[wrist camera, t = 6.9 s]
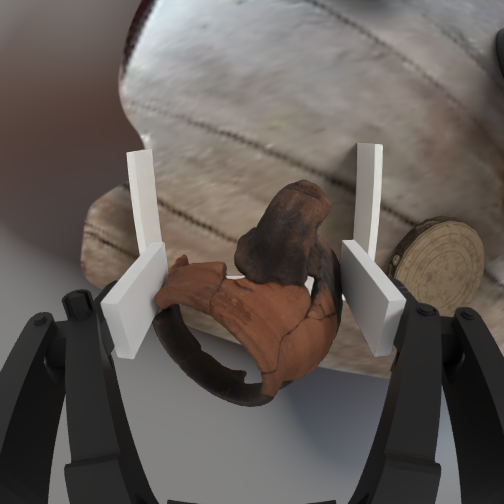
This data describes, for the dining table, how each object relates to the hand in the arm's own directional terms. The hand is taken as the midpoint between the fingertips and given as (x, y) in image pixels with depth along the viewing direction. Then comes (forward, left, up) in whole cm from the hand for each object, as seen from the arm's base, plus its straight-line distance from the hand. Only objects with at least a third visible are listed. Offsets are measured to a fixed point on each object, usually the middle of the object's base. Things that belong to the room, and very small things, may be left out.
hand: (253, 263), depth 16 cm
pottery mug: (-1, +1, -1) cm, 1 cm away
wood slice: (-24, +9, -16) cm, 31 cm away
